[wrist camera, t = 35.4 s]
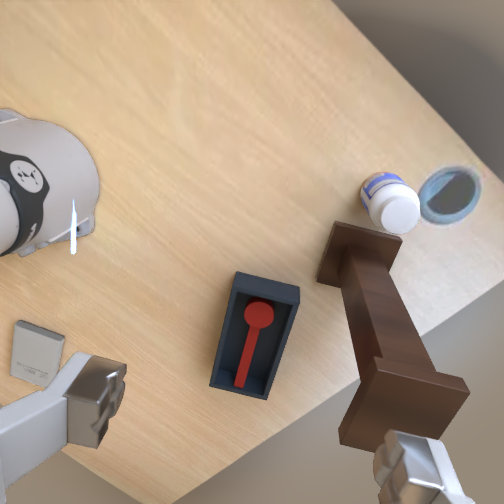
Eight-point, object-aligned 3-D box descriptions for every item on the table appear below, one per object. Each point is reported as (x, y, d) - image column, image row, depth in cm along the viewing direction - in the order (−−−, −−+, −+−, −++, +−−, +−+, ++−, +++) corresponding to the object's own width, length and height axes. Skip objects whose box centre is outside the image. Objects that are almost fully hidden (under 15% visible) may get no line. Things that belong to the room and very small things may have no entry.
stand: (373, 297, 54) (433, 467, 30) (313, 282, 54) (327, 441, 30) (400, 236, 49) (495, 381, 26) (335, 220, 49) (371, 350, 26)
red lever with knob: (252, 386, 60) (250, 394, 58) (225, 379, 60) (224, 387, 58) (277, 300, 55) (277, 306, 53) (249, 292, 55) (247, 298, 53)
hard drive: (66, 335, 63) (56, 384, 69) (19, 319, 63) (13, 369, 68) (60, 342, 62) (51, 390, 67) (13, 324, 61) (7, 375, 66)
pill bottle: (398, 212, 48) (422, 243, 39) (356, 210, 48) (370, 240, 40) (407, 171, 45) (434, 193, 37) (362, 169, 46) (379, 191, 37)
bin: (268, 381, 63) (266, 400, 59) (213, 368, 63) (208, 386, 59) (299, 286, 54) (300, 302, 50) (236, 271, 54) (232, 285, 50)
